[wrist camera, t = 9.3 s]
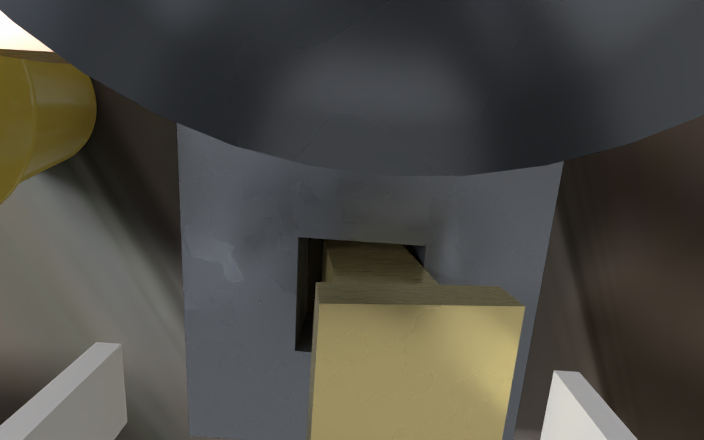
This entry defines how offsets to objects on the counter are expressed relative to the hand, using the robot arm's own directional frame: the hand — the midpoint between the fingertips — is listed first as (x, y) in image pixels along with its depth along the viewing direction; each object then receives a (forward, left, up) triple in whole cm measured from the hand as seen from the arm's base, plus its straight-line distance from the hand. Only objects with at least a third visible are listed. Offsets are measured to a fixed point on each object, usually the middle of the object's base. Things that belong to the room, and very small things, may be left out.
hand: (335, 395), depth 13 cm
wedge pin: (0, 0, -10) cm, 10 cm away
